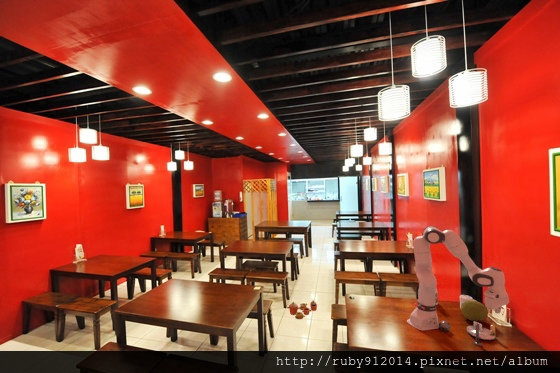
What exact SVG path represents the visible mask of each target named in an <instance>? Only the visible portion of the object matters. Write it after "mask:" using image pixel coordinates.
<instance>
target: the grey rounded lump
mask: <svg viewBox="0 0 560 373" xmlns="http://www.w3.org/2000/svg"><path fill="white" fill-rule="evenodd" d="M438 329H440V330H441V331H442V332H444V333H445V332H446V333H447V332H448V331H449V330H451V324H450V323H449V322H448V321H446V320H441V321H440V322H439V328H438Z"/></svg>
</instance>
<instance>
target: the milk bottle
mask: <svg viewBox="0 0 560 373" xmlns="http://www.w3.org/2000/svg"><path fill="white" fill-rule="evenodd" d="M438 293H439V292H438V289H437V287H436V291H435V304H436V306H437V305H439V295H438Z"/></svg>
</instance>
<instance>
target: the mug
mask: <svg viewBox="0 0 560 373" xmlns="http://www.w3.org/2000/svg"><path fill="white" fill-rule="evenodd" d="M469 300H470V301H477V300H476V299H473V297H472V296H470V295H466V294H461V295H459V307H460V309H461V304H462V303H464V302H465V301H469Z"/></svg>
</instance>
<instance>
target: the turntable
mask: <svg viewBox="0 0 560 373" xmlns="http://www.w3.org/2000/svg"><path fill="white" fill-rule="evenodd" d="M466 332H467V333H468V334H469V335H471V336H472V337H474V338H476V329H474V325H468V326H467V327H466ZM479 340H484V341H493V340H496V326H495V324H490V329H488V328H486V327H483V326H482V332H481V331H479Z"/></svg>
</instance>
